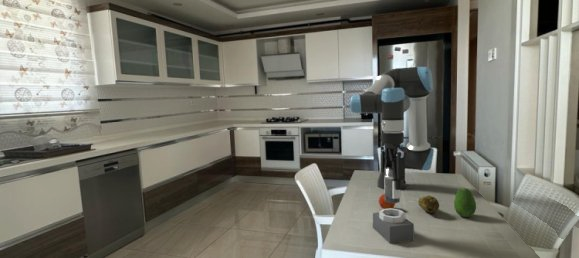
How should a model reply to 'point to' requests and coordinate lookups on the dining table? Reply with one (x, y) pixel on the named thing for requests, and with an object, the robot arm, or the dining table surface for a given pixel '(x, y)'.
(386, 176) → the lens
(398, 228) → the grey block
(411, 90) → the robot arm
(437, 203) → the potato
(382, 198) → the fruit
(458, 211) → the fruit
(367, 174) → the dining table surface
